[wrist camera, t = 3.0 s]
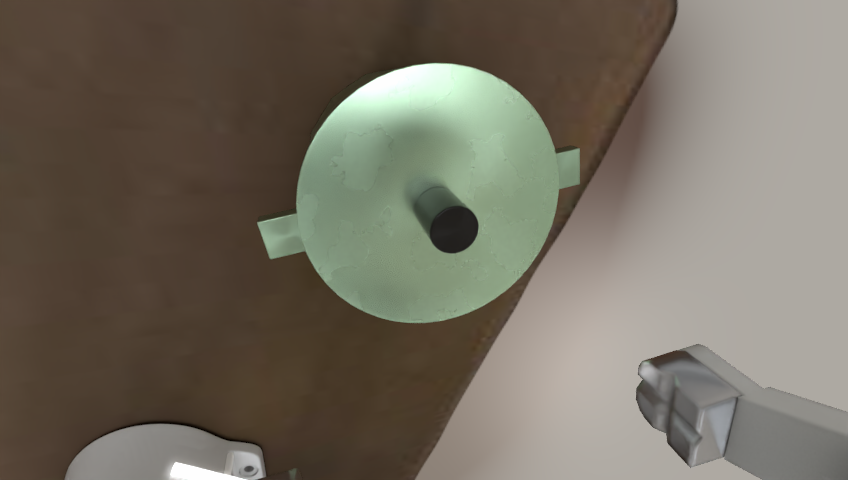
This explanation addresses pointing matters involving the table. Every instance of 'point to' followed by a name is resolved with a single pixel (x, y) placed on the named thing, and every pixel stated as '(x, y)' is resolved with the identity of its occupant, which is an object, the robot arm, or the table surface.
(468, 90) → the lid
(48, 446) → the table surface
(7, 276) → the table surface
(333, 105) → the pot
